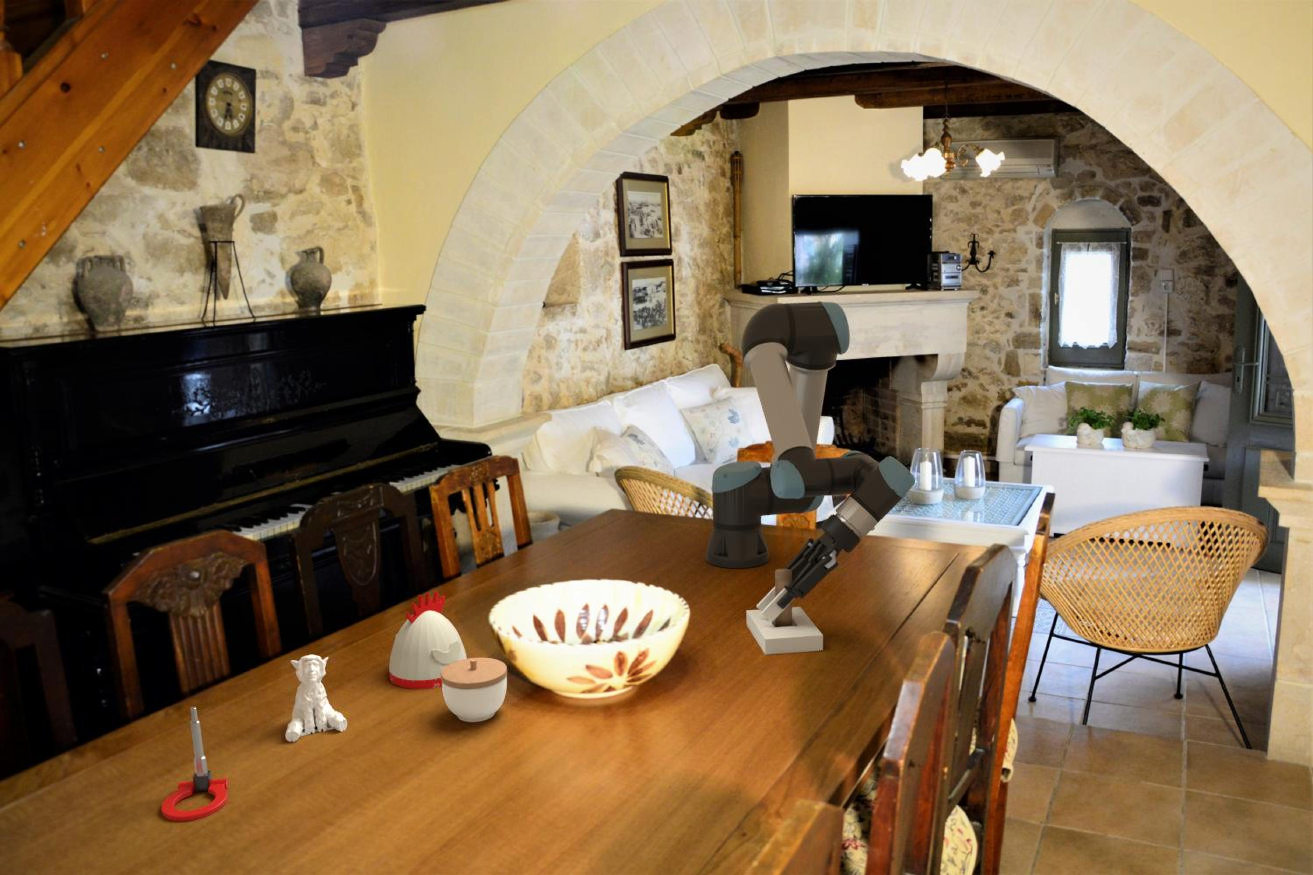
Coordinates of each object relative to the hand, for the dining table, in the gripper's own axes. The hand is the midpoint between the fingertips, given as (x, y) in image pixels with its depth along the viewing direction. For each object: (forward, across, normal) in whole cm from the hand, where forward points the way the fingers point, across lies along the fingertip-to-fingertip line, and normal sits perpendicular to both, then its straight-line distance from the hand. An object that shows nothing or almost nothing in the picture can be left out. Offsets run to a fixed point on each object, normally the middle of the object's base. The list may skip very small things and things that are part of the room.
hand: (763, 613), depth 204 cm
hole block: (+1, 0, -6) cm, 6 cm away
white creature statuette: (+60, -24, +53) cm, 84 cm away
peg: (0, 0, -5) cm, 5 cm away
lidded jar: (+42, -24, +35) cm, 59 cm away
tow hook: (+69, -46, +61) cm, 103 cm away
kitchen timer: (+48, -5, +41) cm, 64 cm away
